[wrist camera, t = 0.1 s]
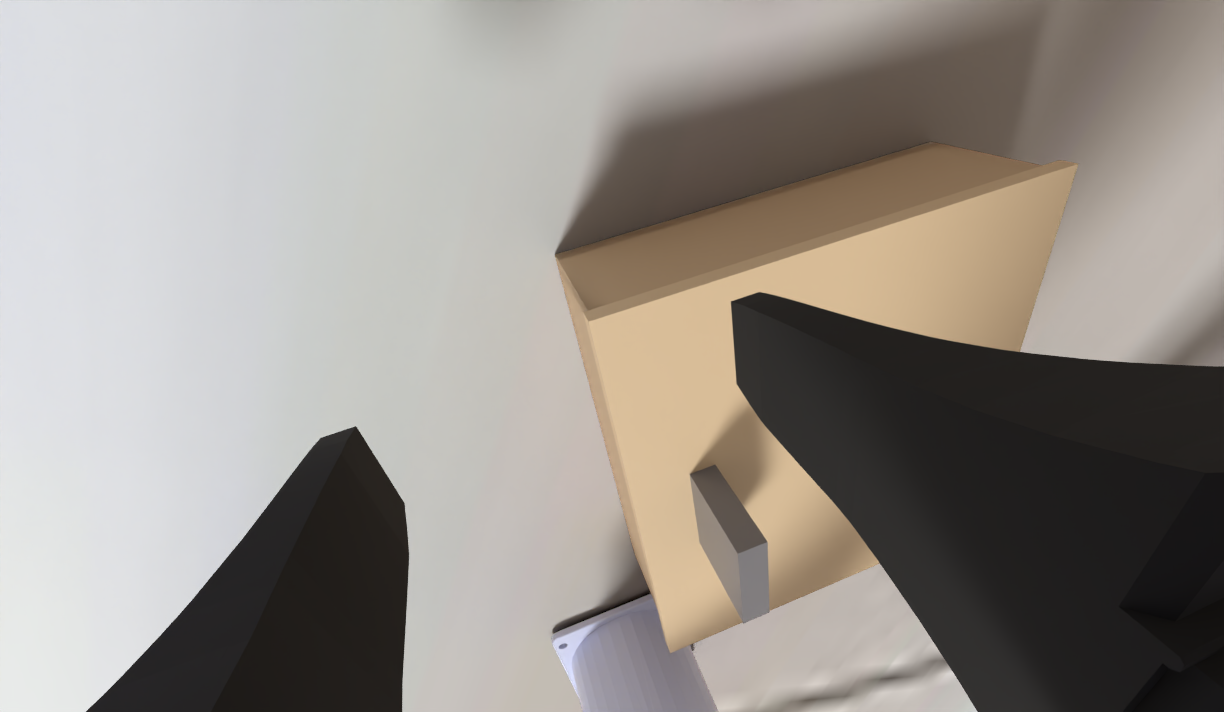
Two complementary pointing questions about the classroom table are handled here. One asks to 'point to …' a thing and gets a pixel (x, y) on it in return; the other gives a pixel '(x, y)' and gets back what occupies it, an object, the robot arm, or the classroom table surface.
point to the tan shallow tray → (755, 243)
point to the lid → (731, 430)
